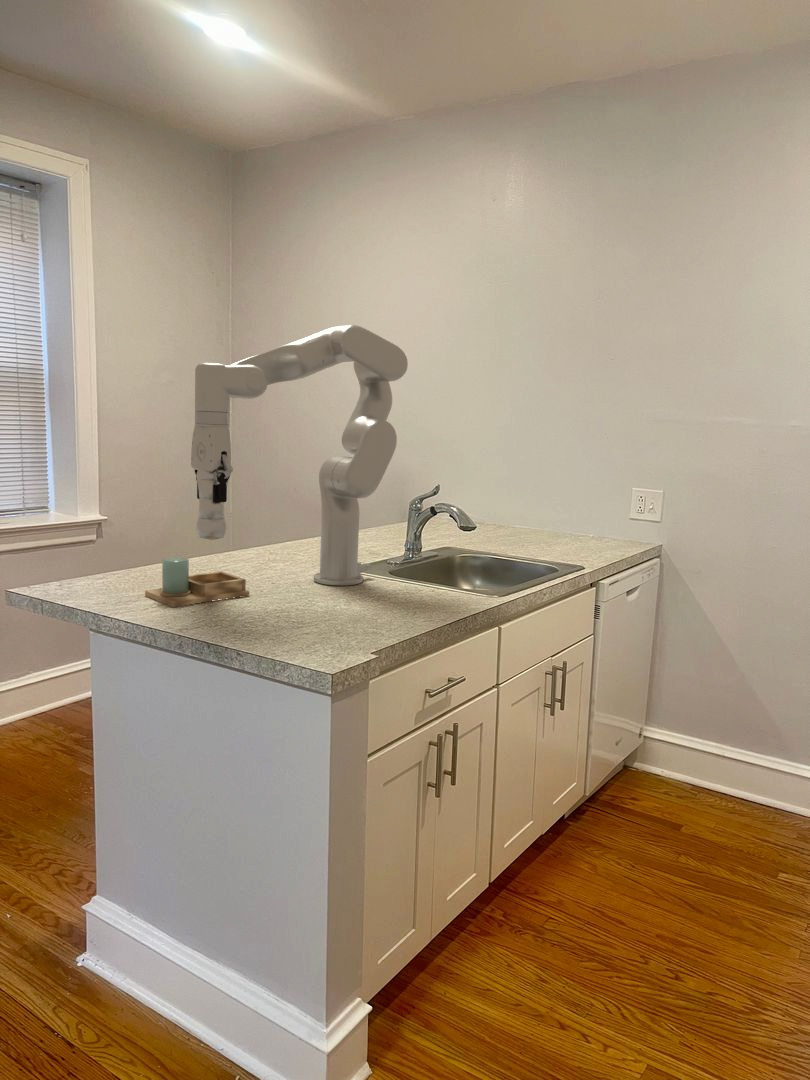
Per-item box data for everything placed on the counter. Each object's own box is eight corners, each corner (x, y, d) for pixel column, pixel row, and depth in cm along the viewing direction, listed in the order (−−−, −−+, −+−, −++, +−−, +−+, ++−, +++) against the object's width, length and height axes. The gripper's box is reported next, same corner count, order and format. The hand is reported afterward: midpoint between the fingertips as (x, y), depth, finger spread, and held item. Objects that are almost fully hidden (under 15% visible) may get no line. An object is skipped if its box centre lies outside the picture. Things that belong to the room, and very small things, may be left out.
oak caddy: (219, 585, 193) (219, 570, 192) (249, 596, 184) (249, 580, 183) (145, 595, 180) (145, 579, 179) (173, 607, 171) (173, 590, 170)
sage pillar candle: (180, 587, 181) (180, 556, 180) (193, 591, 178) (193, 561, 176) (157, 590, 178) (157, 559, 176) (170, 595, 174) (170, 563, 173)
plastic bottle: (219, 542, 178) (220, 452, 175) (191, 540, 179) (191, 451, 176) (231, 538, 184) (232, 451, 181) (203, 536, 186) (204, 449, 182)
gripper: (177, 418, 181) (177, 496, 184) (217, 421, 169) (217, 505, 172) (207, 418, 186) (206, 495, 189) (248, 422, 174) (247, 504, 177)
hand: (211, 499), depth 180 cm, fingers closed on plastic bottle, 6 cm apart
